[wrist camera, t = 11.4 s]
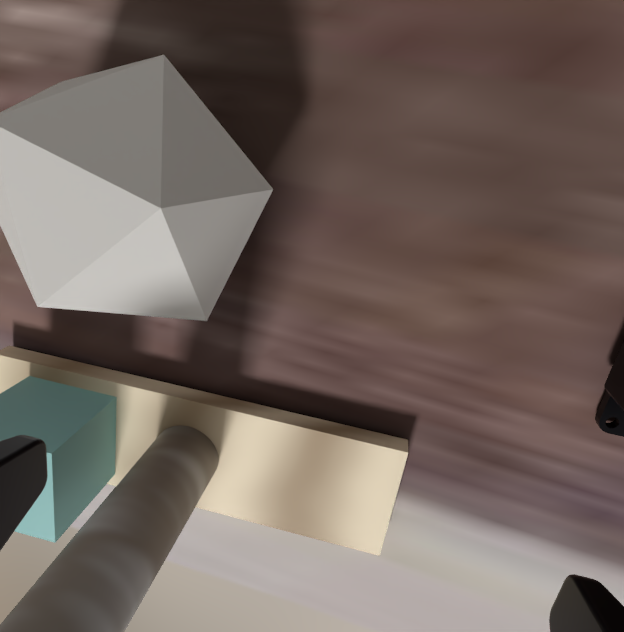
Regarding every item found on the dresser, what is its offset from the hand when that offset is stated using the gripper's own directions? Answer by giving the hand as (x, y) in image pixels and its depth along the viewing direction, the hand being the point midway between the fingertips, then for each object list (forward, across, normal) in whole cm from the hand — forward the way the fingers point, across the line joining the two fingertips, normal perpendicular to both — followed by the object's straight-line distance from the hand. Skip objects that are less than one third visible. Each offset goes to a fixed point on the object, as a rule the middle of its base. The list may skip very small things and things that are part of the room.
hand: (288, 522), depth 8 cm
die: (+13, +8, -3) cm, 16 cm away
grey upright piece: (+13, +6, +9) cm, 17 cm away
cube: (+12, +12, +9) cm, 19 cm away
